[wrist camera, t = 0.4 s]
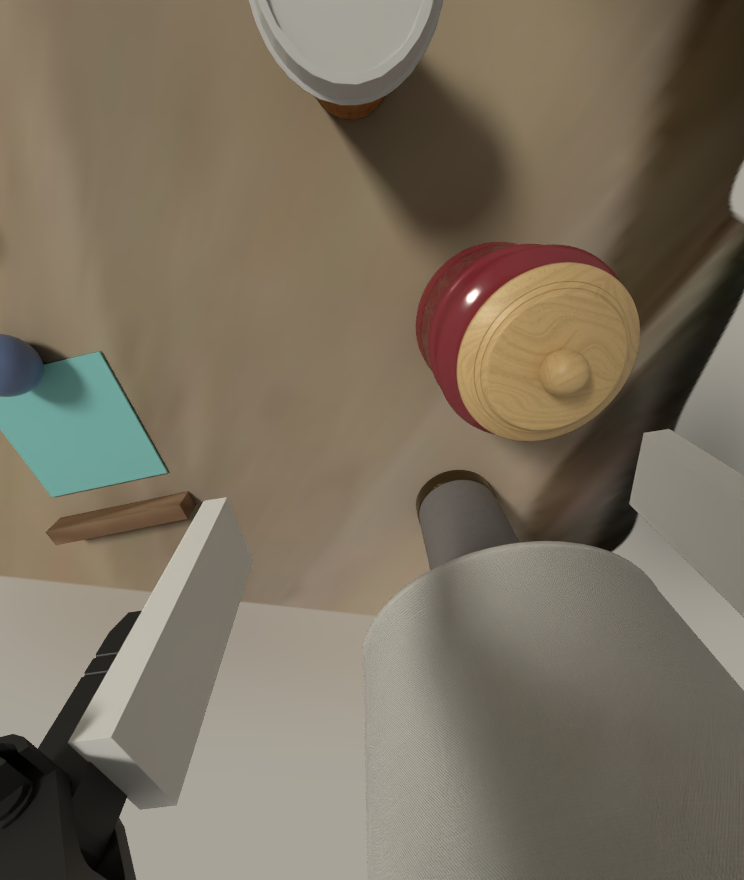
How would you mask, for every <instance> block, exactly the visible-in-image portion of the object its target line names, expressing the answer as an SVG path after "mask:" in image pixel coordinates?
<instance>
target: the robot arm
mask: <svg viewBox="0 0 744 880" xmlns="http://www.w3.org/2000/svg"><path fill="white" fill-rule="evenodd" d="M629 504H630V505H631V506H632V507H633V508H634V509H635V510H636V511H637V512H638V513H639V514H640V515H641V516H642V517H643V518H644V519H645V520H646V521H647V522H648V523H649V524H650V525H651V526H652V527H653V528H654V529H655V530H656V531H657V532H658V533H659V534H660V535H661V536H662V537H663V538H664V539H665V540H666V541H667V542H668V543H669V544H670V545H671V546H672V547H673V548H674V549H675V550H676V551H677V552H678V553H679V554H680V555H681V556H682V557H683V558H684V559H685V560H686V561H687V562H688V563H689V564H690V565H691V566H692V567H693V568H694V569H695V570H696V571H697V572H698V573H699V574H700V575H702V577H703V578H705V580H706V581H707V582H708V583H710V584H711V585H712V586H713V587H714V588H715V589H716V590H717V591H718V592H719V593H720V594H721V595H722V596H723V597H724V598H725V599H726V600H727V601H728V602H729V603H730V604H731V605H732V606H733V607H734V608H735V609H736V610H737V611H738V612H739V613H740V614H741V615H742V616H743V617H744V476H743V475H742V474H740V473H739V472H737V471H735V470H734V469H732V468H731V467H729V466H727V465H726V464H724V463H723V462H721V461H719V460H718V459H716V458H715V457H713V456H711V455H710V454H708V453H707V452H705V451H703V450H702V449H700V448H699V447H697V446H695V445H694V444H692V443H691V442H689V441H687V440H685V439H684V438H683V437H681V436H679V435H678V434H676V433H675V432H673V431H672V430H670V429H666V430H660V431H653V432H647V433H644V434H643V439H642V444H641V449H640V454H639V458H638V463H637V468H636V473H635V478H634V483H633V488H632V492H631V497H630V502H629ZM252 561H253V558H252V555H251V553H250V551H249V548H248V546H247V544H246V541H245V539H244V536H243V534H242V532H241V529H240V527H239V525H238V522H237V520H236V518H235V515H234V513H233V510H232V508H231V506H230V503H229V501H228V499H227V497H226V498H220V499H213V500H207V501H203V503H202V505H201V507H200V509H199V510H198V512H197V514H196V516H195V517H194V519H193V521H192V523H191V524H190V526H189V528H188V530H187V532H186V533H185V535H184V537H183V539H182V540H181V542H180V544H179V546H178V548H177V549H176V551H175V553H174V555H173V556H172V558H171V560H170V562H169V564H168V565H167V567H166V569H165V571H164V572H163V574H162V576H161V578H160V580H159V581H158V583H157V585H156V587H155V588H154V590H153V592H152V594H151V596H150V597H149V599H148V601H147V603H146V604H145V606H144V608H143V610H142V611H137V612H129V613H128V614H127V615H126V616H125V617H124V618H123V619H122V620H121V621H120V622H119V623H118V624H117V625H116V626H115V627H114V628H113V629H112V630H111V631H110V632H109V634H108V635H107V637H106V639H105V640H104V642H103V643H102V645H101V647H100V648H99V650H98V652H97V653H96V658H94V659H93V660H92V661H91V663H90V665H89V666H88V668H87V669H86V671H85V676H84V677H82V678H81V679H80V681H79V683H78V684H77V686H76V687H75V689H74V691H73V692H72V694H71V696H70V697H69V699H68V700H67V702H66V704H65V705H64V707H63V709H62V711H61V712H60V713H59V715H58V717H57V718H56V720H55V722H54V723H53V725H52V726H51V728H50V730H49V731H48V733H47V735H46V736H45V738H44V740H43V741H42V743H41V744H40V746H39V748H38V749H37V748H36V747H35V746H34V745H32V744H31V743H30V742H29V741H28V740H26V739H25V738H24V737H22V736H18V735H15V734H11V735H7V736H3V737H0V880H136V877H135V872H134V868H133V864H132V859H131V855H130V850H129V846H128V842H127V837H126V833H125V828H124V826H123V824H122V822H121V820H120V818H119V816H120V813H121V811H122V808H123V806H124V803H125V801H126V798H128V799H129V800H130V801H131V802H132V803H133V804H135V805H136V806H137V807H138V808H139V809H149V808H158V807H166V806H173V805H177V802H178V798H179V795H180V792H181V789H182V786H183V783H184V779H185V776H186V773H187V770H188V767H189V763H190V760H191V757H192V754H193V751H194V747H195V744H196V741H197V738H198V735H199V731H200V728H201V725H202V722H203V719H204V715H205V712H206V708H207V705H208V702H209V699H210V696H211V693H212V690H213V686H214V683H215V680H216V676H217V674H218V670H219V667H220V664H221V660H222V657H223V654H224V651H225V648H226V645H227V642H228V638H229V635H230V632H231V629H232V625H233V622H234V619H235V616H236V613H237V609H238V606H239V603H240V600H241V597H242V593H243V590H244V587H245V584H246V581H247V577H248V574H249V571H250V568H251V565H252Z"/></svg>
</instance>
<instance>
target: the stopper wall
mask: <svg viewBox="0 0 744 880" xmlns="http://www.w3.org/2000/svg"><path fill="white" fill-rule="evenodd" d="M194 507H195V503H194V501H193V499H192V497H191V496H190V494H189V492H183V493H179V494H174V495H169V496H164V497H159V498H154V499H150V500H145V501H140V502H135V503H130V504H125V505H120V506H116V507H111V508H106V509H101V510H96V511H91V512H87V513H82V514H77V515H72V516H67V517H62V518H60V519H59V520H58V521H57V522H56V523H55V524H54V525H53V526H52V527H51V528H49V529H48V530H47V531H46V534H47V535H48V536H49V537H50V538H51V540H52V541H53V542H54V543H55V545H60V544H65V543H70V542H75V541H80V540H85V539H90V538H95V537H100V536H105V535H110V534H114V533H119V532H124V531H129V530H134V529H139V528H144V527H149V526H154V525H159V524H164V523H169V522H174V521H179V520H184V519H188V517H189V515H190V514H191V512H192V510H193V509H194Z"/></svg>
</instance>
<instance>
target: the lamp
mask: <svg viewBox="0 0 744 880" xmlns="http://www.w3.org/2000/svg"><path fill="white" fill-rule="evenodd" d="M416 510H417V515H418V519H419V522H420V525H421V530H422V534H423V539H424V543H425V548H426V552H427V557H428V561H429V566H430V571H428V572H426V573H425V574H423V575H421V576H420V577H418V578H417V579H415V580H414V581H412V582H411V583H409V584H408V585H407V586H405V587H404V588H403V589H402V590H400V591H399V592H398V593H397V594H396V595H395V596H394V597H393V598H392V599H391V600H389V602H388V603H387V604H386V605H385V606H384V607H383V608H382V610H381V611H380V612H379V614H378V615H377V616H376V618H375V620H374V621H373V623H372V624H371V627H370V629H369V631H368V633H367V636H366V639H365V642H364V646H363V654H362V664H363V671H364V704H365V756H366V806H367V807H366V808H367V856H368V857H367V863H368V880H744V691H743V690H742V688H741V687H740V686H739V685H738V684H737V683H736V681H735V680H734V679H733V678H732V677H731V675H730V674H729V673H728V672H727V671H726V670H725V668H724V667H723V666H722V665H721V664H720V663H719V661H718V660H717V659H716V658H715V657H714V655H712V653H711V652H710V651H709V650H708V648H707V647H706V646H705V645H704V644H703V643H702V641H701V640H700V639H699V638H698V637H697V635H696V634H695V633H694V632H693V631H692V630H691V628H690V627H689V626H688V625H687V624H686V623H685V621H684V620H683V619H682V618H681V617H680V616H679V614H678V613H677V612H676V611H675V610H674V608H673V607H672V606H671V605H670V604H669V603H668V601H667V600H666V599H665V598H664V597H663V595H662V594H661V593H660V592H659V591H658V589H657V587H656V586H655V585H654V583H653V582H652V580H651V579H650V578H649V577H648V576H647V575H646V574H645V573H644V572H643V571H642V570H641V569H640V568H638V567H637V566H636V565H634V564H633V563H631V562H630V561H628V560H626V559H625V558H623V557H621V556H619V555H616V554H614V553H612V552H609V551H607V550H604V549H600V548H597V547H593V546H589V545H584V544H578V543H571V542H561V541H532V542H519V540H518V539H517V537H516V535H515V533H514V531H513V529H512V527H511V526H510V524H509V522H508V520H507V518H506V516H505V514H504V513H503V511H502V509H501V507H500V505H499V503H498V502H497V499H496V497H495V494H494V492H493V490H492V489H491V487H490V485H489V484H488V482H487V481H486V480H485V479H484V478H483V477H481V476H480V475H478V474H476V473H474V472H470V471H465V470H453V471H448V472H444V473H442V474H439V475H437V476H435V477H433V478H432V479H431V480H429V481H428V482H427V483H426V484H425V485H424V486H423V487H422V489H421V490H420V492H419V494H418V497H417V500H416Z"/></svg>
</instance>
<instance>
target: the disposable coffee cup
mask: <svg viewBox="0 0 744 880" xmlns="http://www.w3.org/2000/svg"><path fill="white" fill-rule="evenodd" d="M249 2H250V5H251V9H252V12H253V16H254V19H255V22H256V24H257V27H258V29H259V31H260V33H261V35H262V38H263V40H264V42H265V44H266V46H267V48H268V49H269V51H270V53H271V54H272V56H273V57H274V59H275V60H276V62H277V63H278V65H279V66H280V67H281V68H282V70H283V71H284V72H285V73H286V74H287V75H288V77H289V78H291V79H292V80H293V81H294V82H295V83H296V84H297V85H298V86H299V87H301V88H302V89H304V90H305V91H307V92H308V93H310V94H312V95H313V96H314V97H315V98H316V99H317V100H318V102H319V103H320V104H321V105H322V106H323V107H324V108H325V109H326V110H327V111H328V112H330V113H331V114H332V115H334V116H337V117H339V118H342V119H349V120H352V119H359V118H362V117H365V116H366V115H368V114H370V113H371V112H373V111H374V110H375V109H376V108H377V107H378V106H379V105H380V103H381V102H382V100H383V99H384V98H385V96H386V95H388V94H389V93H390V92H392V91H393V90H394V89H396V88H397V87H398V86H399V85H400V84H401V83H402V82H403V81H404V80H405V79H406V78H407V77H408V76H409V75H410V74H411V73H412V72H413V70H414V69H415V67H416V66H417V64H418V63H419V61H420V60H421V58H422V57H423V55H424V53H425V52H426V50H427V48H428V45H429V43H430V41H431V39H432V36H433V34H434V32H435V29H436V26H437V22H438V19H439V15H440V11H441V7H442V3H443V0H249Z"/></svg>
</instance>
